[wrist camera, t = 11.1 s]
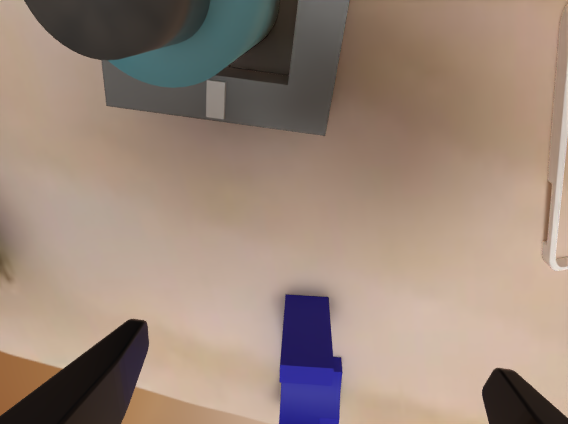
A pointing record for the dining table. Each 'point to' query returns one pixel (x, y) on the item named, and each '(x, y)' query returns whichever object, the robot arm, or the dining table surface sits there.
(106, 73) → the socket
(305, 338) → the cable clip
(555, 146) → the phone case
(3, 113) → the dining table surface
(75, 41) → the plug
